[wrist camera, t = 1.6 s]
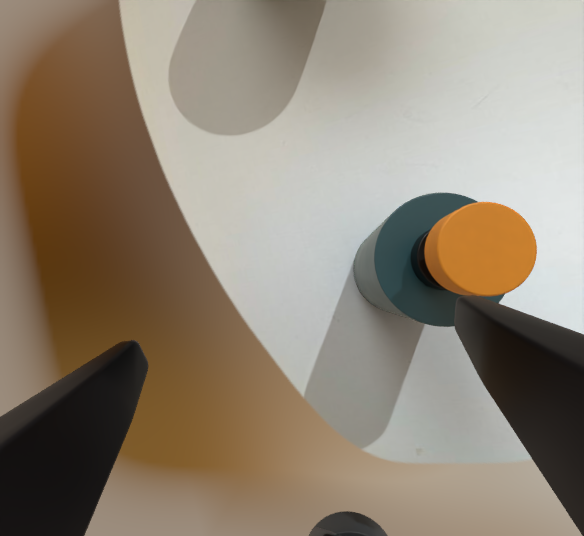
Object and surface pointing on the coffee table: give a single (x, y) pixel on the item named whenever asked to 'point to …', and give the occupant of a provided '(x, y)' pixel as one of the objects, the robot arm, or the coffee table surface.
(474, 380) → the coffee table surface
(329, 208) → the coffee table surface
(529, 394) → the robot arm
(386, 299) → the bottle
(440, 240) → the orange short cylinder
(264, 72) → the coffee table surface
